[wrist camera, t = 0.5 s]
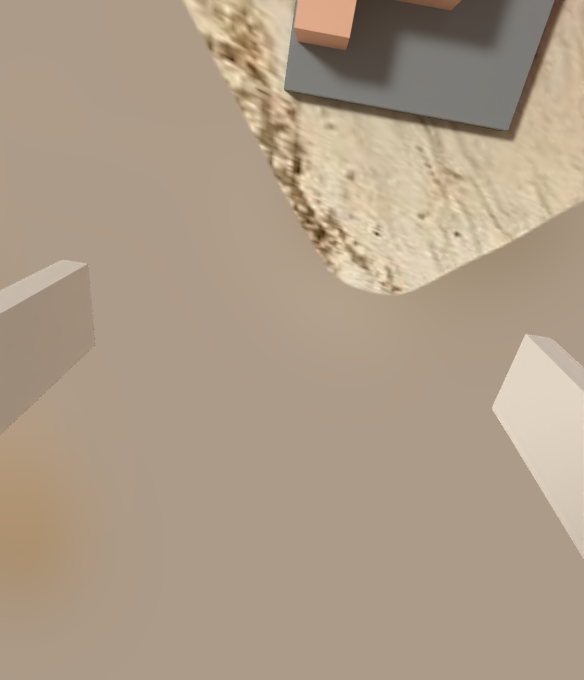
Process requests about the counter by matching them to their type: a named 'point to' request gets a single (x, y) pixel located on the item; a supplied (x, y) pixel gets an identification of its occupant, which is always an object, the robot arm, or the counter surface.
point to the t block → (338, 20)
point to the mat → (428, 59)
